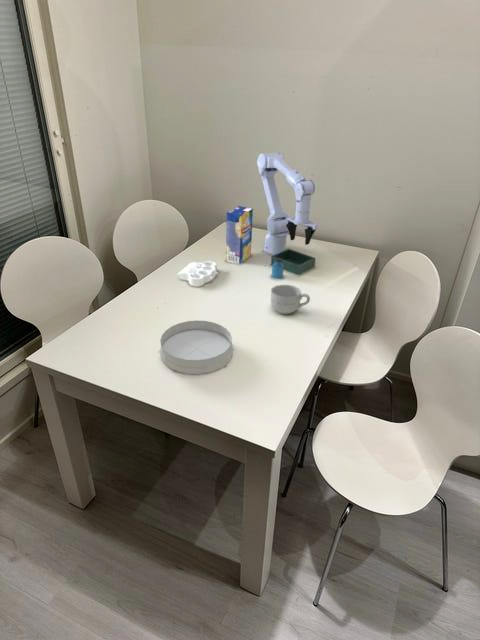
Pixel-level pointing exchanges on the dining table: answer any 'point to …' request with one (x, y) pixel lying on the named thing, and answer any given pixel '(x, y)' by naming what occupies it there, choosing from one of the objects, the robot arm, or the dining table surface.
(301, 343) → the dining table surface
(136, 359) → the dining table surface
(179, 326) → the dish
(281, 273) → the bottle
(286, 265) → the bin
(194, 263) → the white scalloped tray
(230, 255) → the beverage box
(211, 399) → the dining table surface
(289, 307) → the teacup
